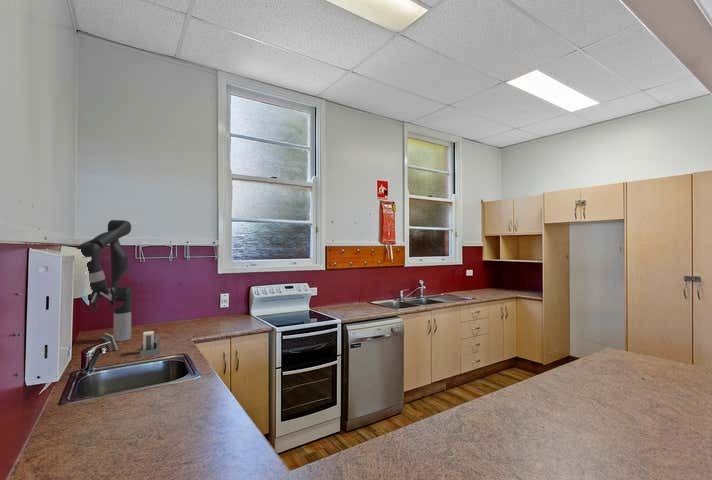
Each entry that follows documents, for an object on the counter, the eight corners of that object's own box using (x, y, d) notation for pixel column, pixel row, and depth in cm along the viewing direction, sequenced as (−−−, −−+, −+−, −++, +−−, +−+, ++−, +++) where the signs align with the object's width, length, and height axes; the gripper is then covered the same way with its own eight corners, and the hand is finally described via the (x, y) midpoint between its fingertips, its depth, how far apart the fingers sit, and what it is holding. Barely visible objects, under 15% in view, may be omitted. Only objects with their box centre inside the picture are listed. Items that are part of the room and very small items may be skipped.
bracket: (141, 349, 200) (141, 335, 199) (159, 346, 204) (159, 333, 204) (140, 356, 187) (140, 342, 187) (159, 354, 192) (159, 339, 192)
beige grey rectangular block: (143, 351, 196) (143, 332, 196) (153, 349, 199) (153, 330, 198) (143, 354, 192) (143, 334, 191) (153, 352, 194) (153, 333, 194)
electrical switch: (118, 350, 197) (116, 334, 196) (107, 353, 193) (106, 337, 192) (110, 347, 202) (109, 331, 202) (100, 350, 198) (98, 334, 197)
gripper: (114, 275, 192) (121, 302, 195) (87, 279, 190) (95, 306, 194) (107, 279, 184) (114, 307, 188) (78, 283, 183) (86, 311, 186)
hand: (104, 307), depth 191 cm, fingers open, 8 cm apart
